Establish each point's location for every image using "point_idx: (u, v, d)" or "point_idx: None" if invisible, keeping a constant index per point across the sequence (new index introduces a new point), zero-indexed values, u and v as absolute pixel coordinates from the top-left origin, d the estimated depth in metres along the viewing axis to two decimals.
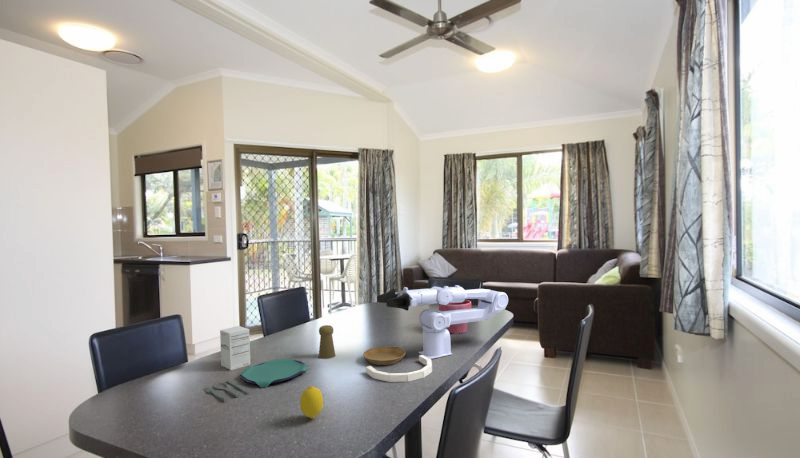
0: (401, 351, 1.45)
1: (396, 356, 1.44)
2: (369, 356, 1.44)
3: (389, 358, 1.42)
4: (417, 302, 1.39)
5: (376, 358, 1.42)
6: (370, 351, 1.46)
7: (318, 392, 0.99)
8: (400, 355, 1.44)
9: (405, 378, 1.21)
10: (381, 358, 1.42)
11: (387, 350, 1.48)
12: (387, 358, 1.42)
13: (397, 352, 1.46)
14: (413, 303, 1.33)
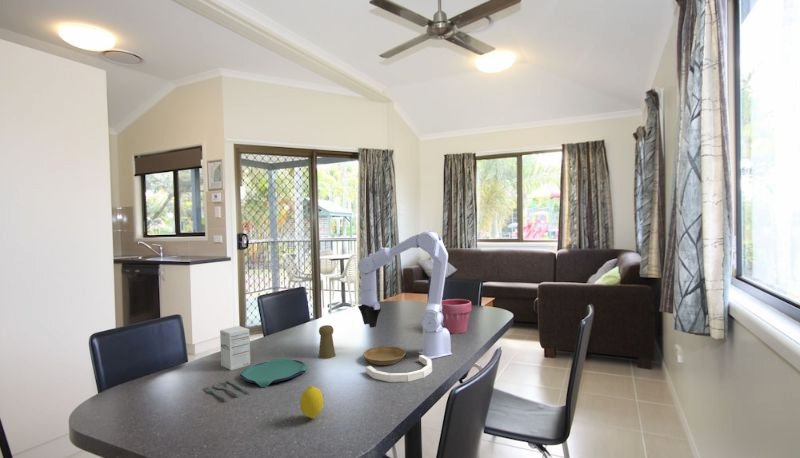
0: (401, 351, 1.45)
1: (396, 356, 1.44)
2: (369, 356, 1.44)
3: (389, 358, 1.42)
4: (374, 293, 1.50)
5: (376, 358, 1.42)
6: (370, 351, 1.46)
7: (318, 392, 0.99)
8: (400, 355, 1.44)
9: (405, 378, 1.21)
10: (381, 358, 1.42)
11: (387, 350, 1.48)
12: (387, 358, 1.42)
13: (397, 352, 1.46)
14: (377, 307, 1.45)
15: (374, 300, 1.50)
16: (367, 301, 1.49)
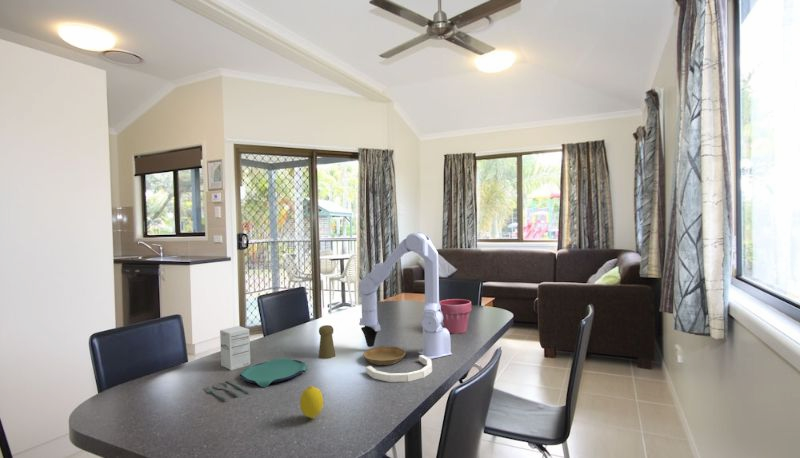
0: (401, 351, 1.45)
1: (396, 356, 1.44)
2: (369, 356, 1.44)
3: (389, 358, 1.42)
4: (375, 314, 1.50)
5: (376, 358, 1.42)
6: (370, 351, 1.46)
7: (318, 392, 0.99)
8: (400, 355, 1.44)
9: (405, 378, 1.21)
10: (381, 358, 1.42)
11: (386, 350, 1.48)
12: (387, 358, 1.42)
13: (397, 352, 1.46)
14: (377, 328, 1.46)
15: (375, 321, 1.50)
16: (368, 322, 1.49)
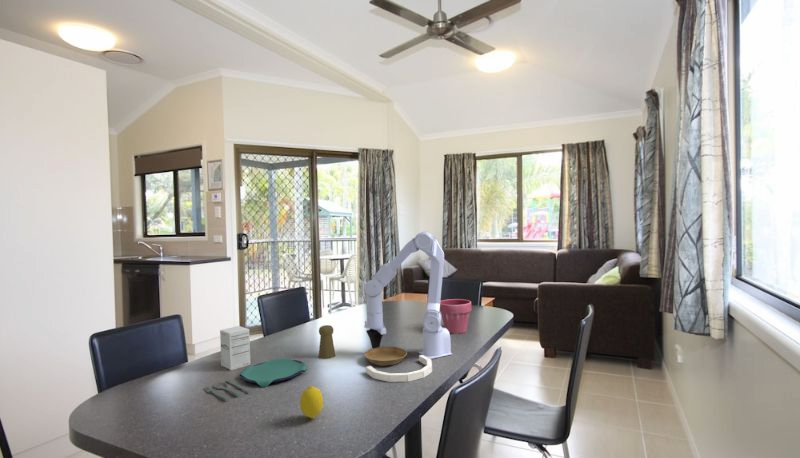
0: (402, 351, 1.44)
1: (397, 356, 1.43)
2: (370, 356, 1.43)
3: (390, 358, 1.41)
4: (380, 317, 1.46)
5: (377, 358, 1.42)
6: (371, 351, 1.45)
7: (318, 392, 0.99)
8: (401, 355, 1.43)
9: (405, 378, 1.21)
10: (382, 358, 1.41)
11: (388, 350, 1.47)
12: (388, 358, 1.41)
13: (398, 352, 1.45)
14: (383, 331, 1.41)
15: (380, 324, 1.46)
16: (373, 325, 1.45)
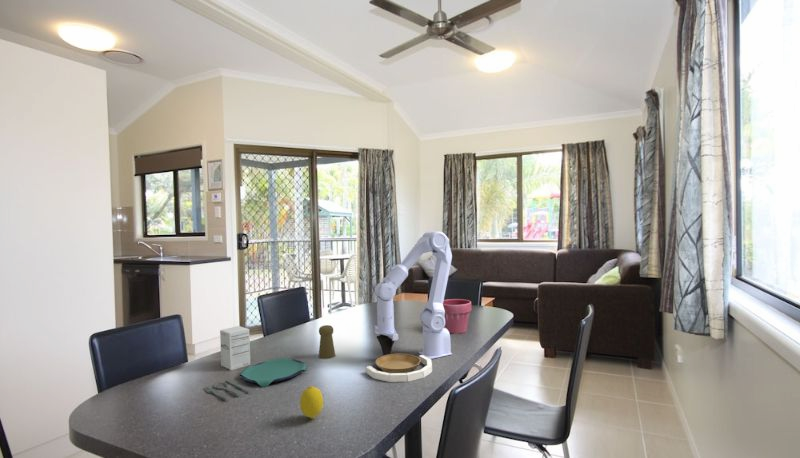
0: (415, 358, 1.36)
1: (410, 364, 1.35)
2: (381, 364, 1.35)
3: (403, 366, 1.33)
4: (391, 322, 1.38)
5: (389, 366, 1.34)
6: (382, 358, 1.37)
7: (318, 392, 0.99)
8: (414, 363, 1.35)
9: (405, 378, 1.21)
10: (394, 366, 1.34)
11: (400, 357, 1.39)
12: (401, 366, 1.33)
13: (411, 359, 1.37)
14: (395, 337, 1.33)
15: (392, 329, 1.38)
16: (384, 330, 1.37)
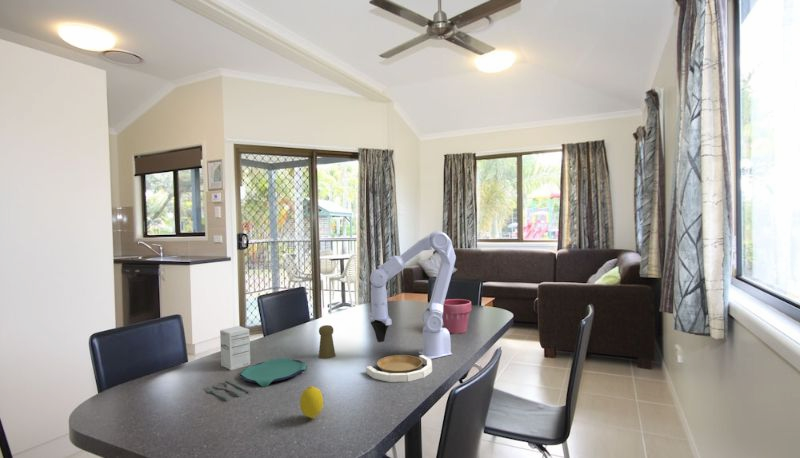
0: (417, 360, 1.35)
1: (412, 365, 1.34)
2: (383, 365, 1.34)
3: (405, 368, 1.32)
4: (385, 308, 1.42)
5: (391, 368, 1.33)
6: (384, 360, 1.36)
7: (318, 392, 0.99)
8: (416, 364, 1.34)
9: (405, 378, 1.21)
10: (396, 368, 1.32)
11: (401, 358, 1.38)
12: (402, 368, 1.32)
13: (413, 361, 1.36)
14: (388, 322, 1.38)
15: (385, 315, 1.42)
16: (378, 316, 1.41)
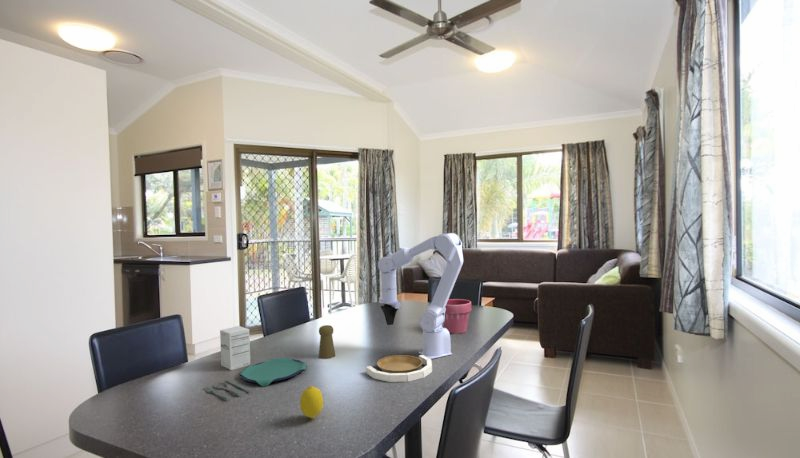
0: (417, 360, 1.35)
1: (412, 365, 1.34)
2: (383, 365, 1.34)
3: (405, 368, 1.32)
4: (394, 293, 1.51)
5: (391, 368, 1.33)
6: (384, 360, 1.36)
7: (318, 392, 0.99)
8: (416, 364, 1.34)
9: (405, 378, 1.21)
10: (396, 368, 1.32)
11: (401, 358, 1.38)
12: (402, 368, 1.32)
13: (413, 361, 1.36)
14: (398, 305, 1.46)
15: (394, 299, 1.51)
16: (388, 300, 1.50)
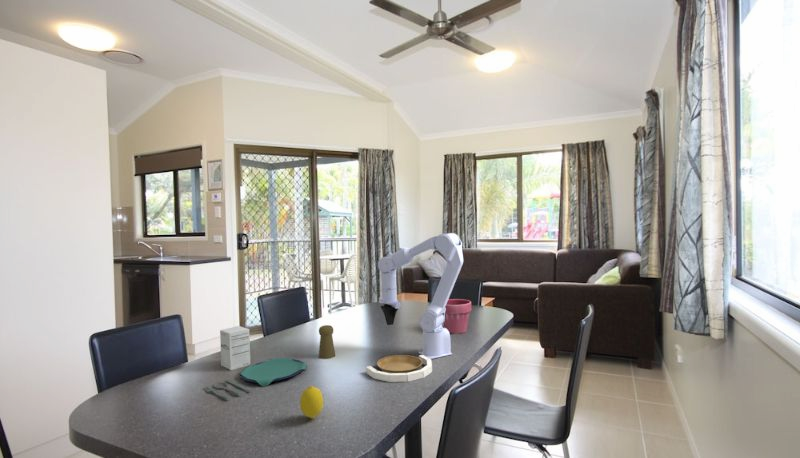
0: (417, 360, 1.35)
1: (412, 365, 1.34)
2: (383, 365, 1.34)
3: (405, 368, 1.32)
4: (394, 293, 1.51)
5: (391, 368, 1.33)
6: (384, 360, 1.36)
7: (318, 392, 0.99)
8: (416, 364, 1.34)
9: (405, 378, 1.21)
10: (396, 368, 1.32)
11: (401, 358, 1.38)
12: (402, 368, 1.32)
13: (413, 361, 1.36)
14: (398, 305, 1.46)
15: (394, 299, 1.51)
16: (388, 300, 1.50)
